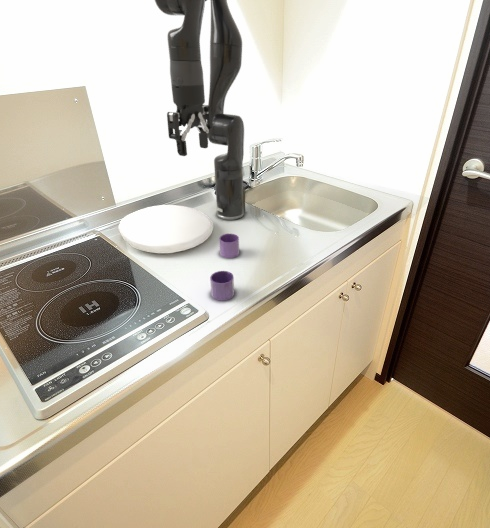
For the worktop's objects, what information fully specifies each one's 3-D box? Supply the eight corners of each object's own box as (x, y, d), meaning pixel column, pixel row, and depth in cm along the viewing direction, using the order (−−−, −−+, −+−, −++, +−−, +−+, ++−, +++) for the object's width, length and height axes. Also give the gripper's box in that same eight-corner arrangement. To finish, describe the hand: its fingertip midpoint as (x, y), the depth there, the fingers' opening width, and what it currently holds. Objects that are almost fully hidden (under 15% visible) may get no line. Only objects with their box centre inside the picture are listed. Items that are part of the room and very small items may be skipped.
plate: (228, 216, 116) (173, 253, 97) (227, 233, 120) (174, 272, 100) (160, 190, 125) (96, 219, 106) (161, 207, 129) (100, 239, 109)
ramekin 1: (228, 246, 110) (228, 231, 107) (243, 252, 107) (242, 237, 104) (216, 254, 106) (215, 238, 103) (230, 260, 103) (229, 244, 100)
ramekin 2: (222, 284, 93) (221, 268, 90) (238, 292, 90) (238, 276, 88) (206, 295, 89) (205, 278, 87) (223, 303, 87) (222, 286, 84)
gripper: (194, 78, 93) (199, 143, 101) (153, 83, 82) (163, 155, 91) (218, 80, 90) (221, 147, 98) (179, 86, 79) (187, 160, 88)
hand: (193, 151), depth 95 cm, fingers open, 8 cm apart
